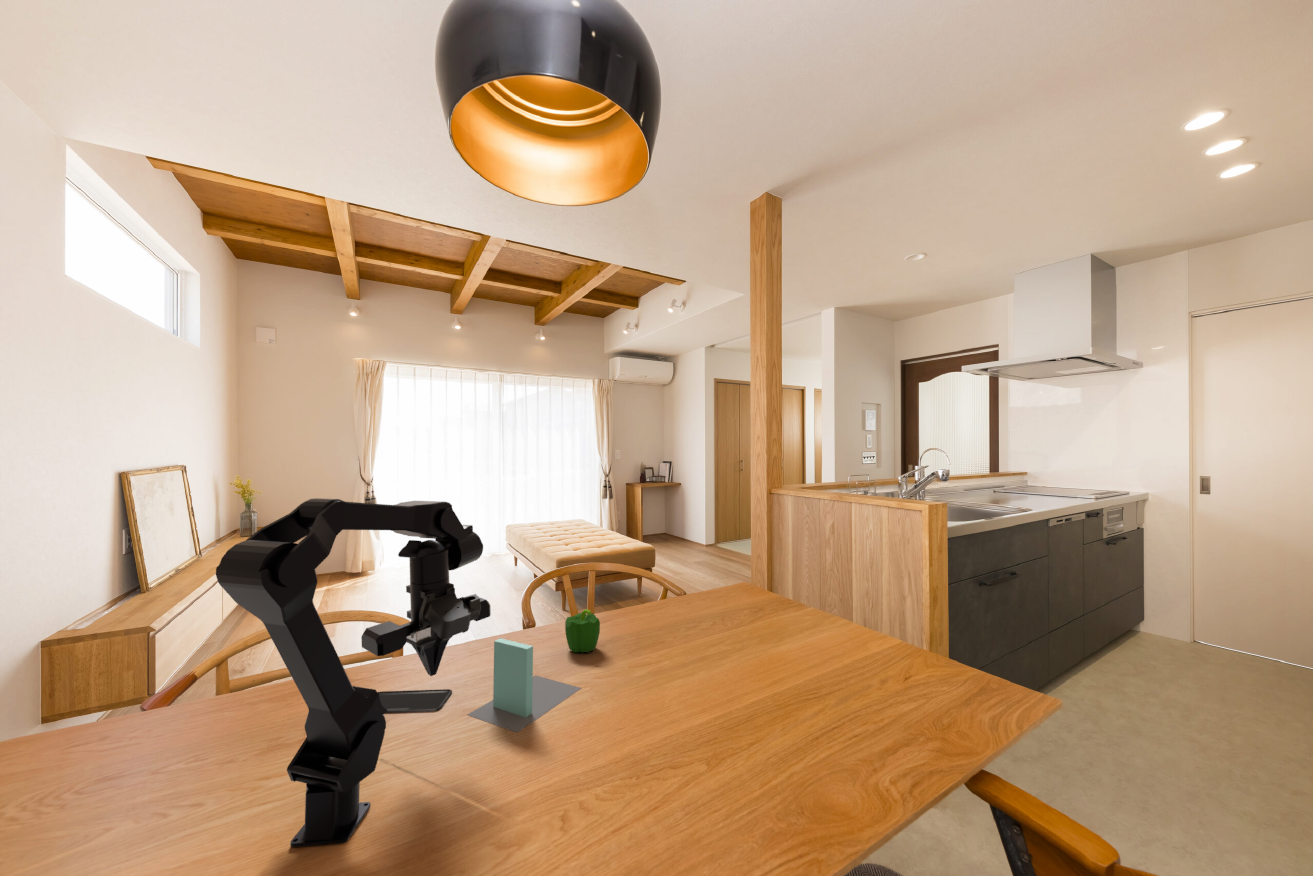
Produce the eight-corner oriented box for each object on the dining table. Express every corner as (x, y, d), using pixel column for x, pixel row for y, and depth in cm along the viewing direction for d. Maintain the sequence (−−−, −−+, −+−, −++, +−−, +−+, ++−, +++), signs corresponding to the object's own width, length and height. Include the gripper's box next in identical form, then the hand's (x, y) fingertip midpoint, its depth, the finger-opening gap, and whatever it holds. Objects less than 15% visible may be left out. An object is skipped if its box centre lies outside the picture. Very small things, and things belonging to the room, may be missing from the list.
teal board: (525, 717, 87) (526, 649, 87) (493, 706, 91) (494, 641, 91) (532, 713, 88) (533, 646, 89) (499, 703, 92) (500, 638, 93)
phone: (374, 691, 96) (453, 689, 97) (374, 697, 96) (453, 694, 97) (353, 712, 88) (439, 709, 89) (352, 719, 88) (439, 715, 89)
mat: (517, 734, 82) (517, 732, 82) (466, 717, 88) (466, 714, 88) (581, 690, 98) (581, 688, 98) (535, 677, 104) (535, 675, 104)
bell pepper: (561, 646, 121) (561, 605, 121) (593, 641, 124) (593, 601, 125) (570, 659, 113) (570, 615, 113) (604, 653, 117) (604, 611, 117)
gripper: (395, 607, 66) (397, 720, 67) (509, 572, 81) (511, 665, 82) (358, 591, 73) (361, 694, 73) (470, 562, 88) (472, 648, 88)
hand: (432, 674), depth 79 cm, fingers closed
